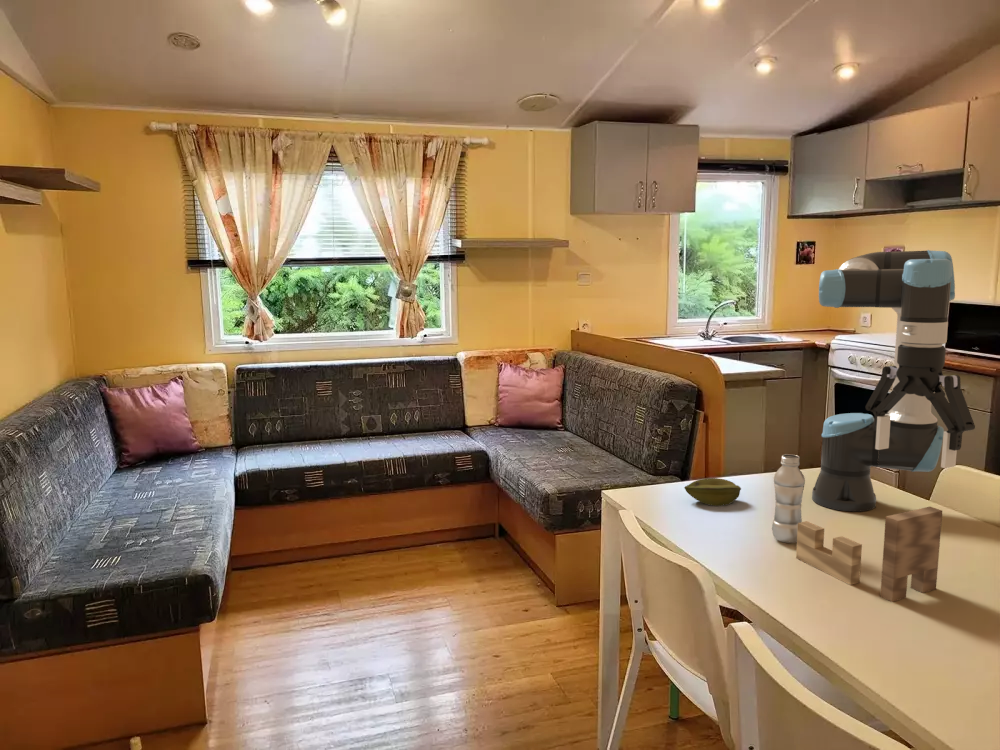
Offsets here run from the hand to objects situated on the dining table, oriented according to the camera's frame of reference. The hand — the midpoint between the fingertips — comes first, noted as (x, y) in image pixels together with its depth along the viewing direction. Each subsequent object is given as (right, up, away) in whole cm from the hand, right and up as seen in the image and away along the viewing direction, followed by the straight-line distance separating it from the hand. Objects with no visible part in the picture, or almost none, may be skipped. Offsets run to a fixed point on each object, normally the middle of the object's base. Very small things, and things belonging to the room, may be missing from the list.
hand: (913, 457), depth 132 cm
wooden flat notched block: (+1, -27, +4) cm, 27 cm away
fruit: (-20, -19, +56) cm, 63 cm away
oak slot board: (-9, -25, +15) cm, 31 cm away
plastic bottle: (-12, -23, +30) cm, 39 cm away
